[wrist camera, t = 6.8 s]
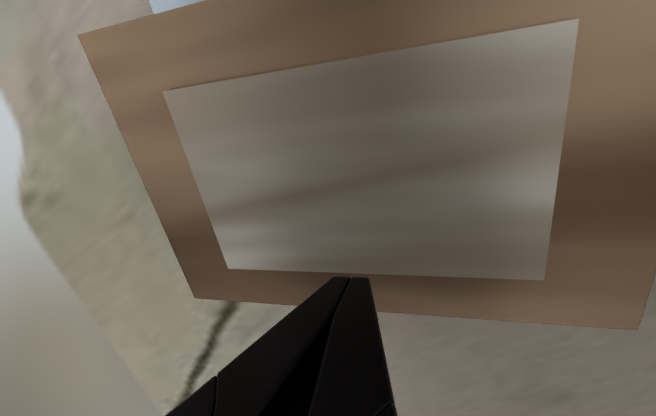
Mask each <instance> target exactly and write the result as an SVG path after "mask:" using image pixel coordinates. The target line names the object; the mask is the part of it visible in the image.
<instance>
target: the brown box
mask: <svg viewBox="0 0 656 416" xmlns="http://www.w3.org/2000/svg"><path fill="white" fill-rule="evenodd" d="M78 37H79V40H80V42H81V44H82V46H83V49H84V51H85V53H86V55H87V58H88V60H89V62H90V64H91V67H92V69H93V71H94V73H95V76H96V78H97V80H98V82H99V85H100V87H101V89H102V91H103V93H104V96H105V98H106V100H107V102H108V105H109V107H110V109H111V111H112V114H113V116H114V118H115V120H116V123H117V125H118V127H119V129H120V132H121V134H122V136H123V138H124V141H125V143H126V145H127V147H128V150H129V152H130V154H131V156H132V158H133V161H134V163H135V165H136V167H137V170H138V172H139V174H140V176H141V179H142V181H143V183H144V185H145V188H146V190H147V192H148V194H149V197H150V199H151V201H152V203H153V206H154V208H155V210H156V212H157V215H158V217H159V219H160V221H161V223H162V226H163V228H164V230H165V232H166V235H167V237H168V239H169V241H170V244H171V246H172V248H173V250H174V253H175V255H176V257H177V259H178V262H179V264H180V266H181V268H182V271H183V273H184V275H185V277H186V280H187V282H188V284H189V286H190V288H191V291H192V293H193V295H194V297H195V298H199V299H212V300H226V301H240V302H254V303H267V304H281V305H295V306H299V305H300V304H301V303H302V302H303V301H305V300H306V299H307V298H308V297H309V296H311V295H312V294H313V293H314V292H315V291H317V290H318V289H319V288H320V287H321V286H323V285H324V284H325V283H326V282H327V281H328V280H330V279H331V278H332V277H334V276H349V277H350V278H352V277H368V278H369V279H370V283H371V288H372V293H373V298H374V303H375V308H376V311H377V312H391V313H405V314H419V315H432V316H446V317H460V318H474V319H487V320H501V321H515V322H529V323H542V324H556V325H570V326H583V327H597V328H611V329H625V330H638V328H639V325H640V322H641V318H642V315H643V312H644V309H645V306H646V302H647V299H648V296H649V293H650V289H651V286H652V283H653V280H654V277H655V273H656V0H205V1H201V2H197V3H194V4H190V5H186V6H183V7H179V8H175V9H172V10H168V11H164V12H160V13H157V14H153V15H149V16H146V17H142V18H138V19H135V20H131V21H127V22H124V23H120V24H116V25H113V26H109V27H105V28H101V29H98V30H94V31H90V32H87V33H83V34H79V35H78Z"/></svg>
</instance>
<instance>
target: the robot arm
mask: <svg viewBox="0 0 656 416" xmlns="http://www.w3.org/2000/svg"><path fill="white" fill-rule="evenodd" d="M165 416H397V411H396V407H395V403H394V397H393V392H392V387H391V382H390V378H389V373H388V368H387V363H386V358H385V353H384V348H383V343H382V338H381V333H380V328H379V323H378V318H377V313H376V308H375V303H374V298H373V293H372V288H371V283H370V279H369V278H368V277H352V278H350V277H349V276H334V277H332V278H331V279H330V280H328V281H327V282H326V283H325V284H324V285H323V286H321V287H320V288H319V289H318V290H317V291H315V292H314V293H313V294H312V295H311V296H309V297H308V298H307V299H306V300H305V301H303V302H302V303H301V304H300V305H299V306H297V307H296V308H295V309H294V310H293V311H291V312H290V313H289V314H288V315H287V316H285V317H284V318H283V319H282V320H281V321H279V322H278V323H277V324H276V325H275V326H273V327H272V328H271V329H270V330H269V331H268V332H266V333H265V334H264V335H263V336H262V337H260V338H259V339H258V340H257V341H256V342H254V343H253V344H252V345H251V346H250V347H248V348H247V349H246V350H245V351H244V352H242V353H241V354H240V355H239V356H238V357H236V358H235V359H234V360H233V361H232V362H230V363H229V364H228V365H227V366H226V367H224V368H223V369H222V370H221V371H220V372H218V374H217V377H216V376H214V377H212V378H211V379H210V380H209V381H208V382H206V383H205V384H204V385H203V386H202V387H200V388H199V389H198V390H197V391H195V392H194V393H193V394H192V395H190V396H189V397H188V398H187V399H186V400H184V401H183V402H182V403H181V404H179V405H178V406H177V407H176V408H174V409H173V410H172V411H170V412H169V413H168V414H166V415H165Z"/></svg>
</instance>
